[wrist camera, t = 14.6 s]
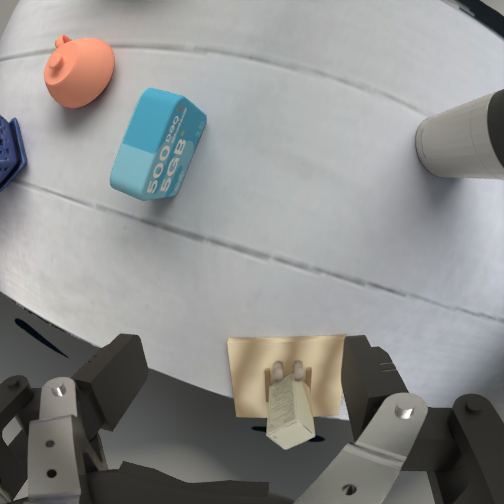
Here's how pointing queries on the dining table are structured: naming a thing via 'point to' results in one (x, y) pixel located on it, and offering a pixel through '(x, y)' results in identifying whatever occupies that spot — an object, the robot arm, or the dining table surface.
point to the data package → (157, 146)
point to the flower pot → (10, 151)
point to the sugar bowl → (78, 70)
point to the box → (290, 413)
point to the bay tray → (286, 371)
